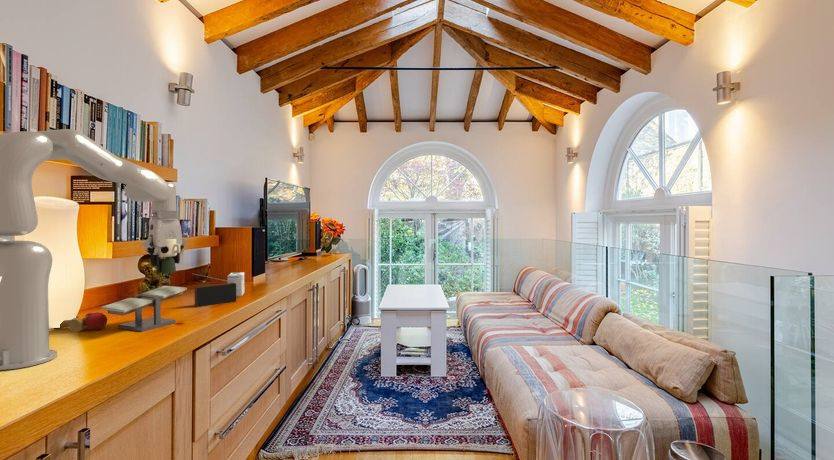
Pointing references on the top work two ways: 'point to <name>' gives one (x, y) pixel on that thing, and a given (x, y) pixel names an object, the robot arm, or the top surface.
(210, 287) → the radio
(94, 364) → the top surface
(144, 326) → the stand
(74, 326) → the kendama
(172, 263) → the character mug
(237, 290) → the light bulb box
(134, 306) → the beam
